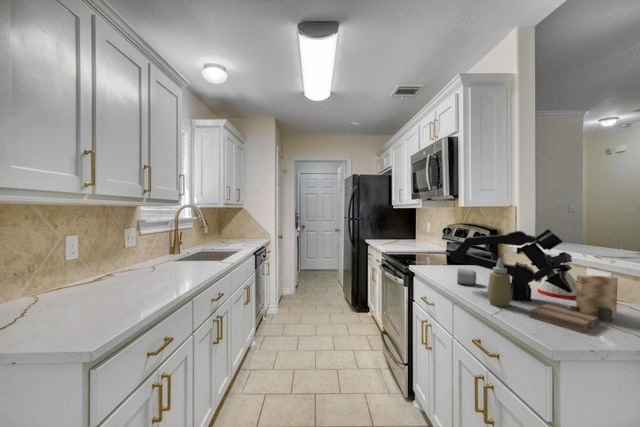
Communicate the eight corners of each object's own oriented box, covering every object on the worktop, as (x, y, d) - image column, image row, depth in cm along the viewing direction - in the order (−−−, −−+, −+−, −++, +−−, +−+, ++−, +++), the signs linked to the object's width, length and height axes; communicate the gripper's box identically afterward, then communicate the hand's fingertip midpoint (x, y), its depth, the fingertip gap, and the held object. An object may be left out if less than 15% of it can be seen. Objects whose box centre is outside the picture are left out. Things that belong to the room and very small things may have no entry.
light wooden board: (572, 316, 97) (574, 276, 97) (568, 314, 99) (569, 274, 99) (616, 318, 96) (617, 277, 95) (611, 316, 98) (612, 276, 97)
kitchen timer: (534, 293, 124) (535, 260, 124) (541, 287, 133) (542, 256, 133) (576, 301, 114) (577, 265, 113) (581, 295, 123) (582, 260, 122)
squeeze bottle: (512, 310, 104) (513, 261, 103) (486, 305, 108) (487, 259, 107) (511, 303, 111) (512, 258, 110) (487, 300, 115) (488, 256, 114)
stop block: (603, 321, 94) (604, 309, 94) (598, 319, 96) (599, 307, 96) (612, 321, 94) (612, 310, 93) (606, 319, 95) (607, 307, 95)
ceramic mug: (476, 287, 134) (476, 270, 133) (457, 284, 137) (457, 269, 137) (474, 282, 143) (474, 267, 143) (456, 280, 147) (456, 265, 146)
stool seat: (582, 333, 85) (583, 325, 85) (529, 317, 97) (529, 310, 97) (598, 324, 91) (598, 317, 91) (546, 310, 103) (547, 303, 103)
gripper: (543, 246, 103) (580, 283, 94) (566, 243, 112) (603, 277, 103) (519, 263, 110) (551, 299, 101) (542, 259, 119) (574, 292, 110)
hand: (571, 292), depth 103 cm, fingers closed
